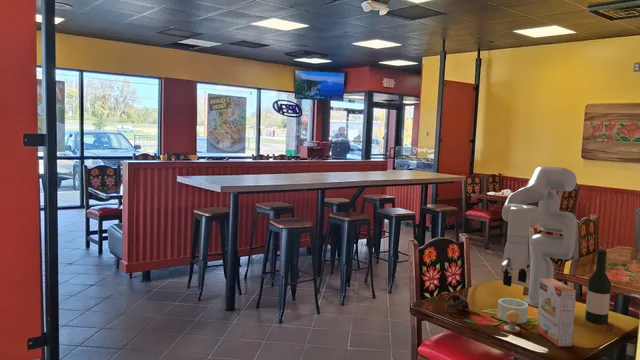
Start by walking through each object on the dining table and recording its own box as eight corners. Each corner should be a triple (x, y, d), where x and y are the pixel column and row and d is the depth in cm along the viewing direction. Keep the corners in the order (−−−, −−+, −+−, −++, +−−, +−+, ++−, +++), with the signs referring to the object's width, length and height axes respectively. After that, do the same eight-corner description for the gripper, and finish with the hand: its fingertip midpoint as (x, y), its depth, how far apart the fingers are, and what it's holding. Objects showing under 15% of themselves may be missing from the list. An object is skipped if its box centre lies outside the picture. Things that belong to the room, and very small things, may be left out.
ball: (510, 318, 188) (511, 307, 188) (520, 322, 184) (521, 311, 184) (503, 321, 185) (504, 309, 185) (514, 324, 182) (514, 313, 182)
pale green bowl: (508, 311, 205) (509, 296, 205) (533, 319, 196) (534, 304, 195) (491, 316, 199) (492, 301, 198) (516, 325, 189) (517, 309, 189)
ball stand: (509, 325, 189) (510, 318, 189) (522, 330, 185) (523, 322, 184) (501, 328, 186) (501, 320, 186) (514, 333, 181) (514, 325, 181)
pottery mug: (473, 316, 199) (466, 301, 197) (452, 324, 201) (444, 309, 198) (467, 300, 210) (460, 285, 208) (446, 307, 212) (439, 292, 210)
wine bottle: (588, 315, 203) (594, 245, 200) (610, 321, 197) (616, 249, 194) (581, 320, 197) (587, 248, 194) (604, 326, 191) (610, 252, 189)
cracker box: (535, 331, 184) (539, 277, 182) (550, 331, 185) (554, 278, 183) (556, 347, 170) (560, 289, 168) (572, 347, 171) (577, 289, 169)
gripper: (521, 235, 190) (518, 278, 192) (495, 239, 180) (492, 284, 182) (539, 239, 184) (536, 282, 186) (513, 243, 174) (510, 289, 176)
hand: (514, 283), depth 184 cm, fingers open, 9 cm apart
